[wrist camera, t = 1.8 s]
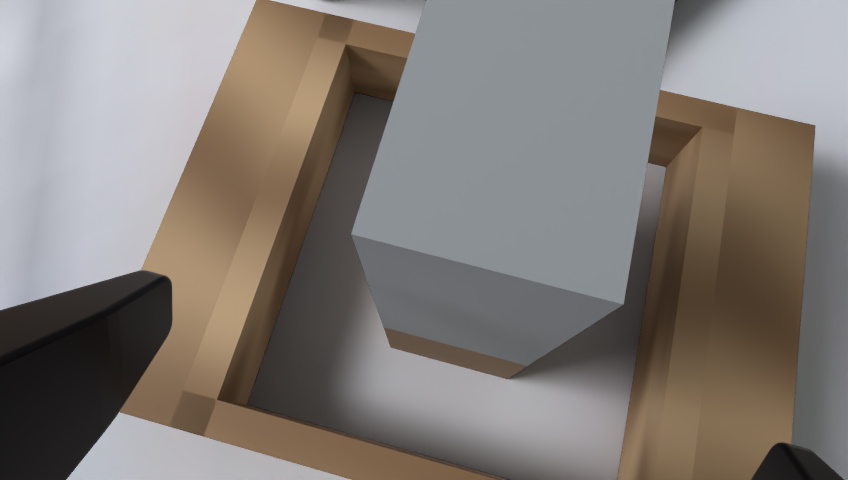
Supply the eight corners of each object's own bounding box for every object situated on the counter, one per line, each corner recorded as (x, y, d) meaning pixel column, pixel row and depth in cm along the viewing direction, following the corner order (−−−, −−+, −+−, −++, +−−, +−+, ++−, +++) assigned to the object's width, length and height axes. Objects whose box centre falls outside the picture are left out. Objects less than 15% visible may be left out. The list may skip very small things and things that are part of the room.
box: (507, 378, 20) (624, 304, 8) (390, 347, 20) (351, 234, 9) (543, 214, 22) (680, -32, 10) (436, 187, 22) (451, -80, 11)
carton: (722, 576, 18) (778, 603, 15) (133, 406, 20) (84, 401, 17) (765, 165, 22) (815, 125, 19) (277, 50, 24) (257, -3, 21)
